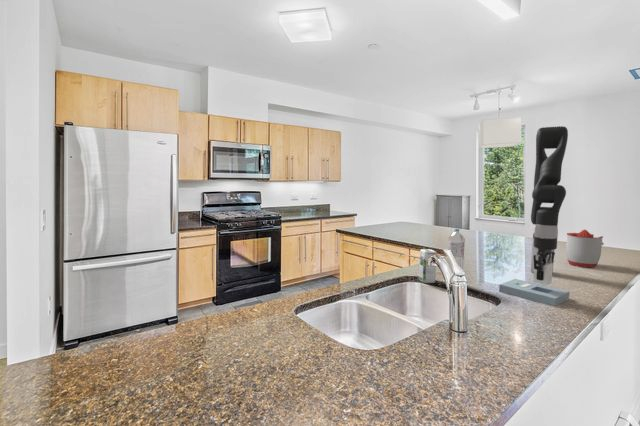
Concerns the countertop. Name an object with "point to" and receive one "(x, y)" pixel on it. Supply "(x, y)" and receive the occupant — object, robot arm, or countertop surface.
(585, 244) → the citrus juicer
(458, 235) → the water bottle
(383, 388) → the countertop surface
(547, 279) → the charger plug
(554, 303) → the plate
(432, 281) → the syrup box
